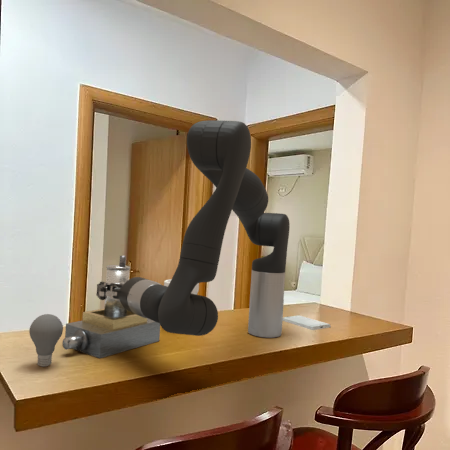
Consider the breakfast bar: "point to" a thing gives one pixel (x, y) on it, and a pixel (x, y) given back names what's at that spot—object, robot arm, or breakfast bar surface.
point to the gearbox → (109, 333)
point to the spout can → (116, 276)
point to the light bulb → (45, 337)
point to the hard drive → (306, 322)
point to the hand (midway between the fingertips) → (112, 285)
